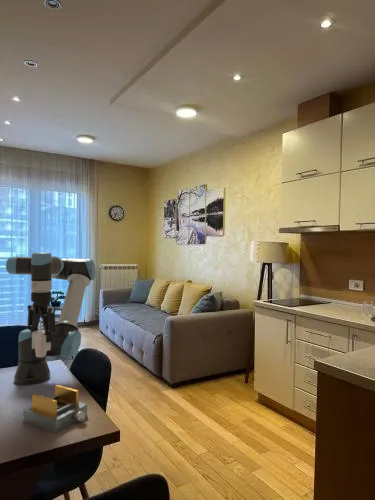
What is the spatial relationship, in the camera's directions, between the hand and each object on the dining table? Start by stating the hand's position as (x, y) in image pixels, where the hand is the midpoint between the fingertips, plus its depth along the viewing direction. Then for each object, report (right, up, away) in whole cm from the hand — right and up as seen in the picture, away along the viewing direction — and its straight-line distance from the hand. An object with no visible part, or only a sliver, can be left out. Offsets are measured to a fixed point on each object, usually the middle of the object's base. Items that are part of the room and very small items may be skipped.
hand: (41, 349), depth 140 cm
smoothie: (0, -3, 0) cm, 3 cm away
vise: (+13, -20, -17) cm, 29 cm away
